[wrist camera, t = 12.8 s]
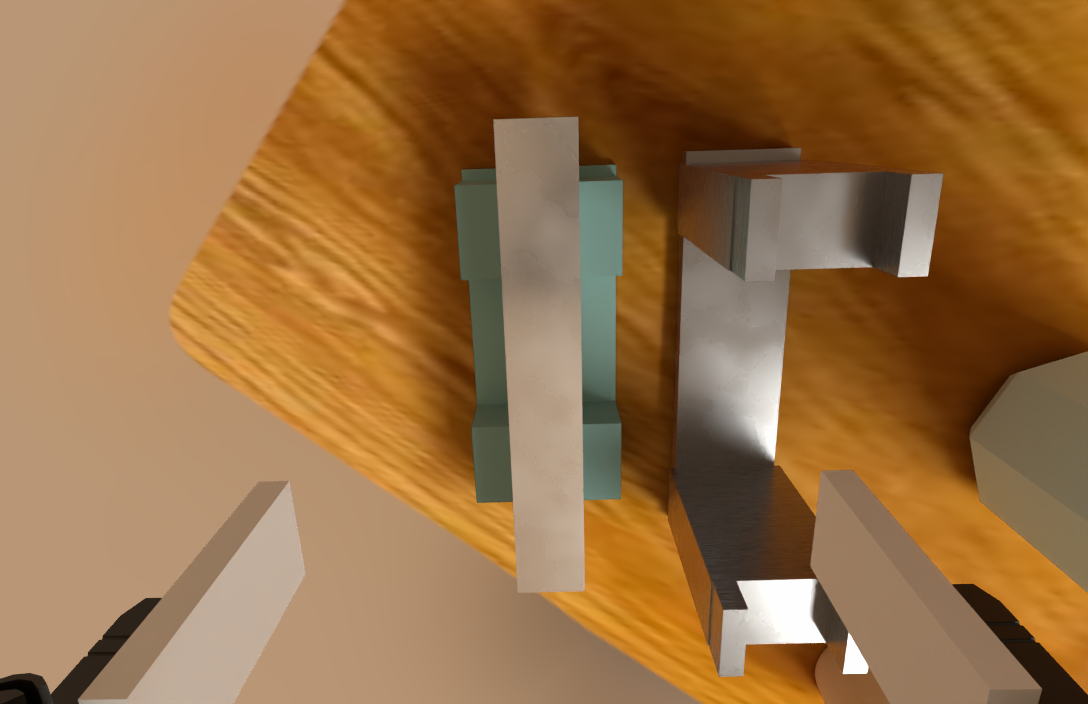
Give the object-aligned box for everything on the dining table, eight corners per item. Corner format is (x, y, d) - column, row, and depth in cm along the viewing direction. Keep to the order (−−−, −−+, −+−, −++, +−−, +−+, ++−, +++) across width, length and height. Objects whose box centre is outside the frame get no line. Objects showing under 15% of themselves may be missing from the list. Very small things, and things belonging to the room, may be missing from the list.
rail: (499, 121, 27) (493, 119, 23) (574, 118, 27) (578, 116, 23) (520, 546, 33) (517, 592, 30) (580, 544, 33) (584, 590, 30)
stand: (675, 151, 30) (750, 161, 19) (799, 147, 30) (947, 155, 19) (664, 517, 36) (717, 687, 25) (768, 514, 36) (867, 684, 25)
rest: (461, 169, 30) (453, 173, 27) (615, 164, 30) (622, 167, 27) (482, 481, 35) (477, 511, 32) (614, 477, 35) (620, 508, 32)
